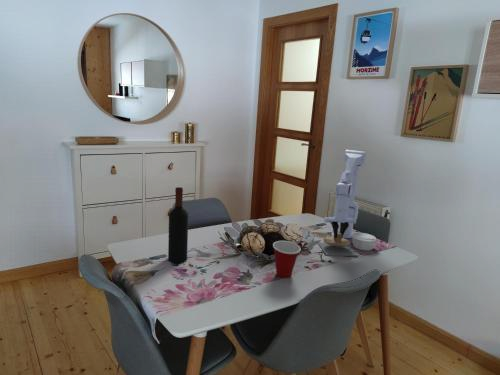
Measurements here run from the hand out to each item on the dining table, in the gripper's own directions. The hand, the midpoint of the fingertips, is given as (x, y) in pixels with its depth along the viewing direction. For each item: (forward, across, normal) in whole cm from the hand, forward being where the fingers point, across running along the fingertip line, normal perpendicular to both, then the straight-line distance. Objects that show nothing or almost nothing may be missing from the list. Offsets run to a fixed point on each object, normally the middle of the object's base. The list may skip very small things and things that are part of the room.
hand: (338, 237), depth 174 cm
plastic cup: (+6, -30, -26) cm, 40 cm away
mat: (+6, 0, 0) cm, 6 cm away
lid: (+3, 0, 0) cm, 3 cm away
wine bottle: (+6, -72, -14) cm, 73 cm away
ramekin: (+6, +14, +4) cm, 16 cm away
